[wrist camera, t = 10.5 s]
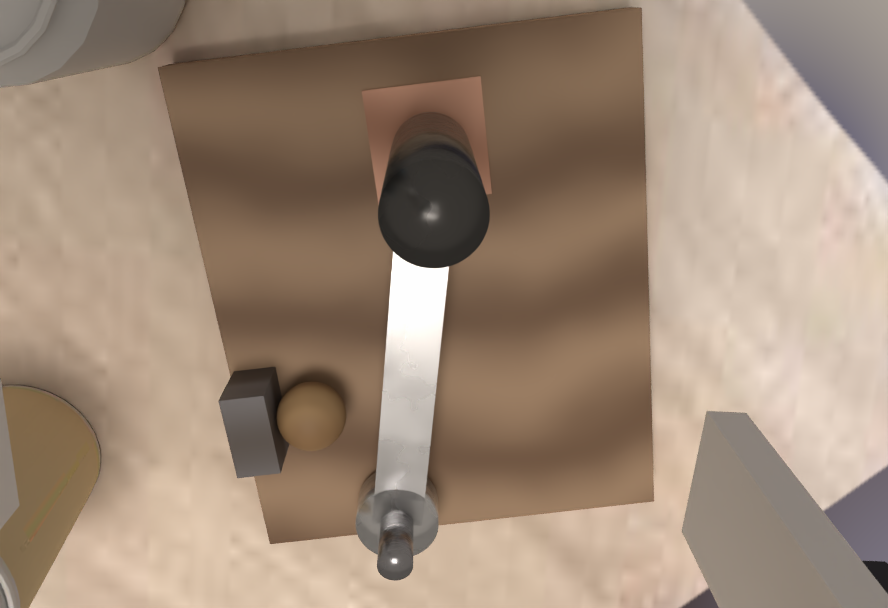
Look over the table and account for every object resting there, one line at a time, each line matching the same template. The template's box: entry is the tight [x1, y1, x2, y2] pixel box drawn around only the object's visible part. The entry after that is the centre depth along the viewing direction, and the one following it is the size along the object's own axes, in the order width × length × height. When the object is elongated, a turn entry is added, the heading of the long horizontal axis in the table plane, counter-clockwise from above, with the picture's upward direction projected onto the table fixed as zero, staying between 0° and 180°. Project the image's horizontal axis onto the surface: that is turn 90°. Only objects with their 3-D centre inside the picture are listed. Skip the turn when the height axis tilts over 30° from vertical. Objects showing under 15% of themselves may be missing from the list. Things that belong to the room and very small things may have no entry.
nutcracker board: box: [158, 7, 654, 544], centre depth 36 cm, size 24×20×5 cm
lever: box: [356, 112, 490, 580], centre depth 32 cm, size 22×4×12 cm, turn 174°
